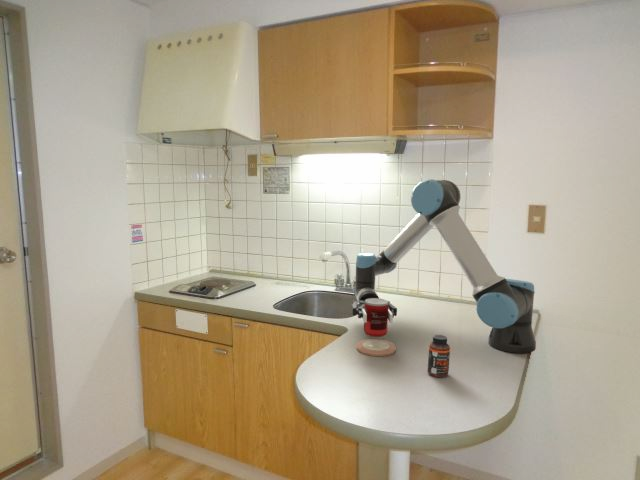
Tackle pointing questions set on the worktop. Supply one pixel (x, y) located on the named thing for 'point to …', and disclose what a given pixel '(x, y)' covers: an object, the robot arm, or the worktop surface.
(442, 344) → the supplement bottle
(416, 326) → the worktop surface
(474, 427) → the worktop surface
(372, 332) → the canned food
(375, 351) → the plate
